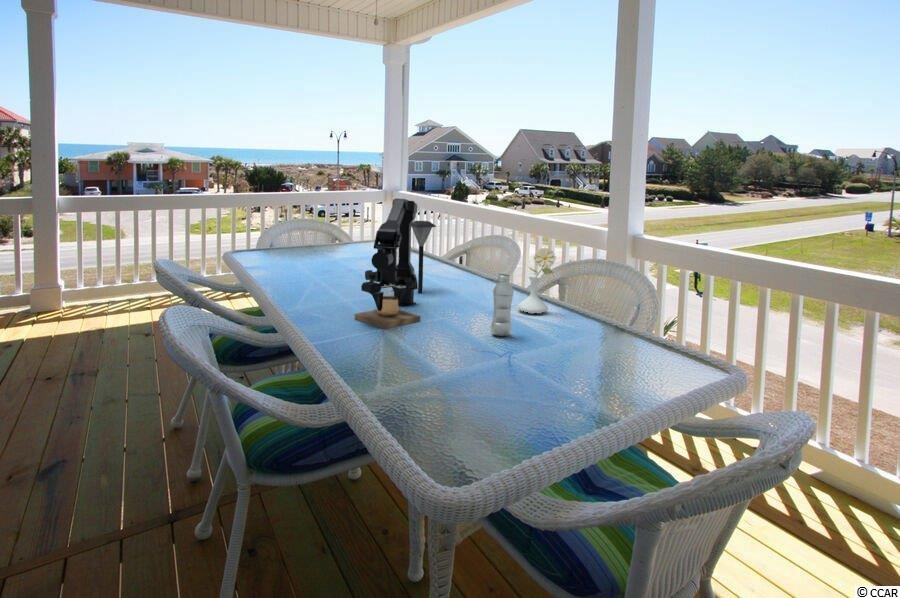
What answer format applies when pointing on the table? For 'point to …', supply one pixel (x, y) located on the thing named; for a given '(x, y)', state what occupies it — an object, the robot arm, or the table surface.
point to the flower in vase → (533, 302)
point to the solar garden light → (421, 244)
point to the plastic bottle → (502, 306)
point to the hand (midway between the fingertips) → (387, 309)
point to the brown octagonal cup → (389, 306)
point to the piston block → (387, 318)
